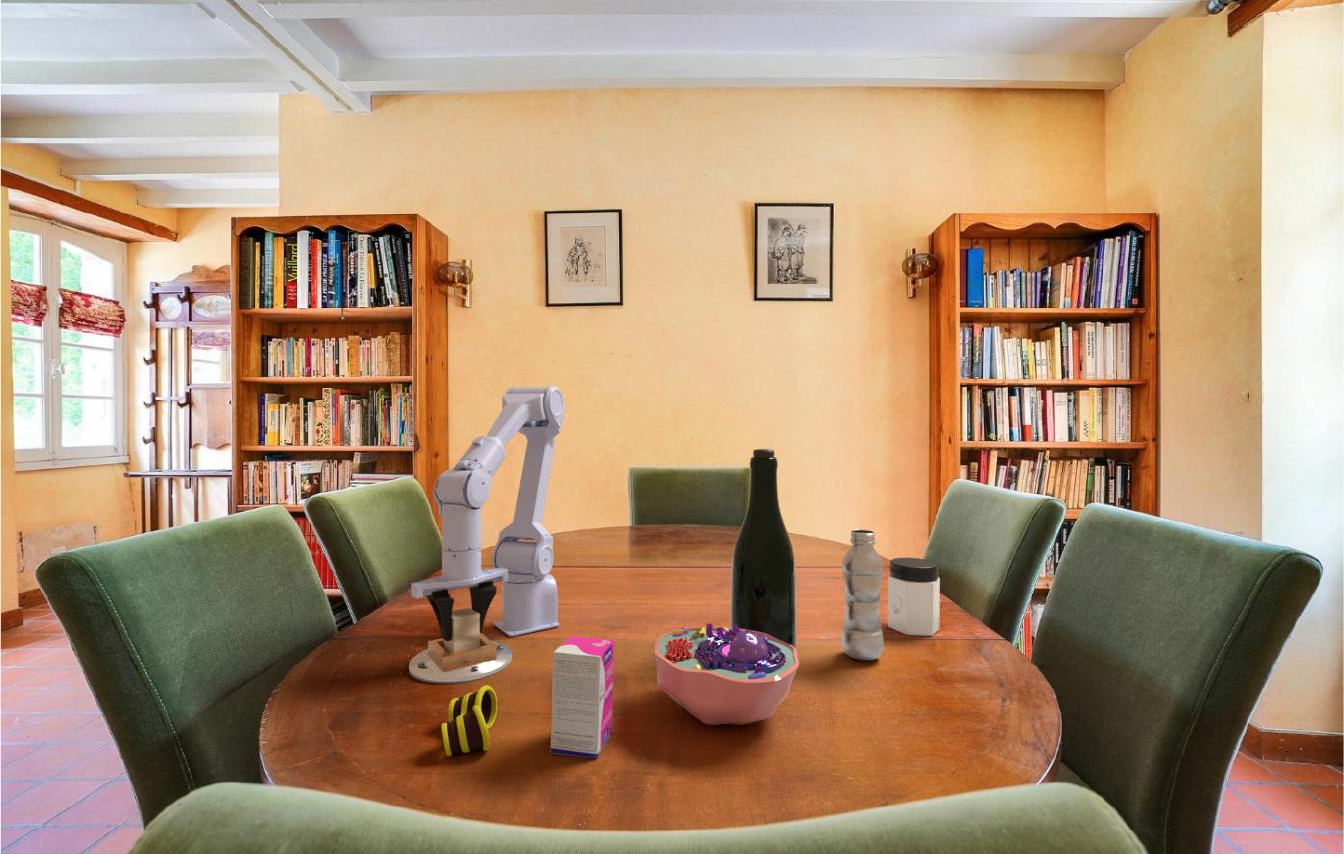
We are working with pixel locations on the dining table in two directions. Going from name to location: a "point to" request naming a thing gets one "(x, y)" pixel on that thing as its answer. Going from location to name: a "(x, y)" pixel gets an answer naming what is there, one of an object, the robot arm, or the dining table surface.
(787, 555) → the wine bottle
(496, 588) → the robot arm
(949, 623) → the dining table surface
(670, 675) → the cell model
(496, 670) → the tray on oval base
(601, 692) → the supplement box
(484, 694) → the opera glasses
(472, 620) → the beige wooden block
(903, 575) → the jar
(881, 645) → the plastic bottle
